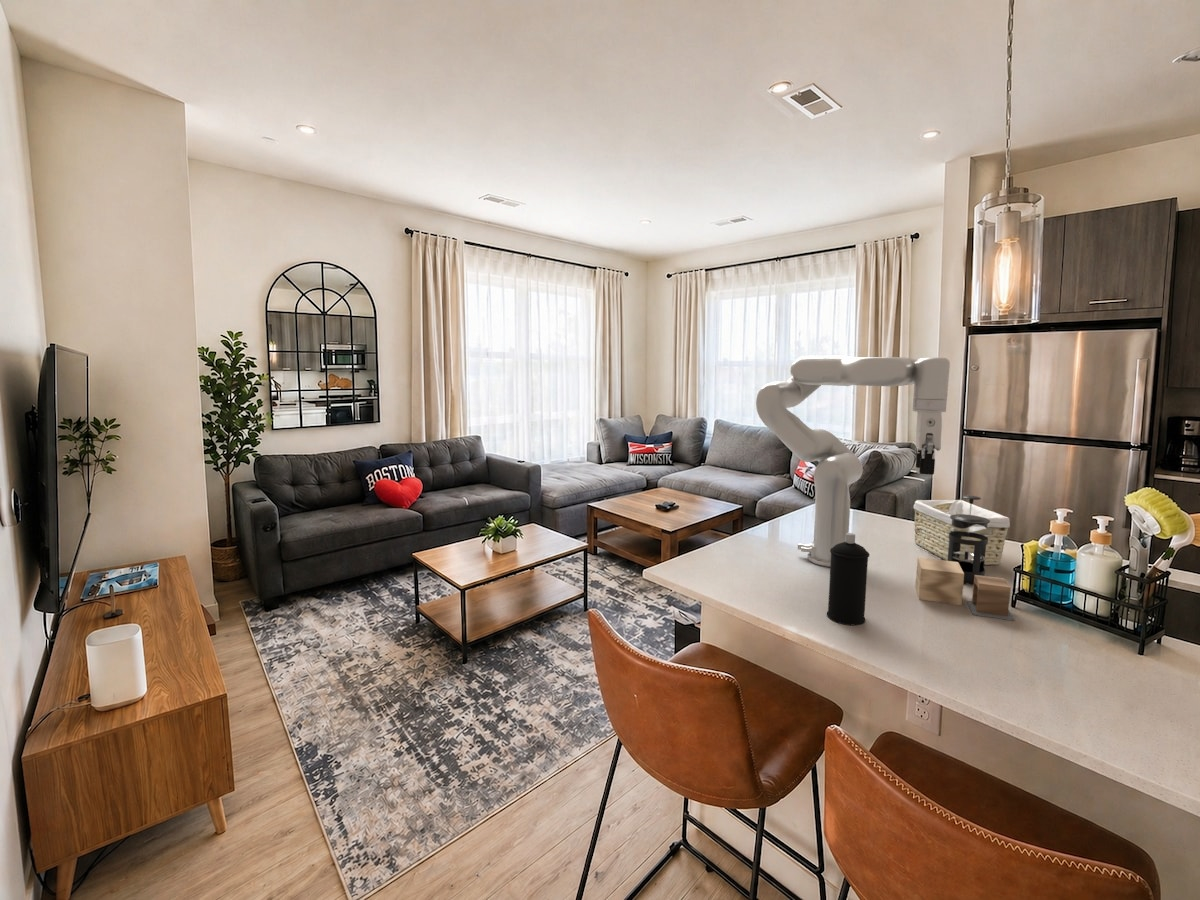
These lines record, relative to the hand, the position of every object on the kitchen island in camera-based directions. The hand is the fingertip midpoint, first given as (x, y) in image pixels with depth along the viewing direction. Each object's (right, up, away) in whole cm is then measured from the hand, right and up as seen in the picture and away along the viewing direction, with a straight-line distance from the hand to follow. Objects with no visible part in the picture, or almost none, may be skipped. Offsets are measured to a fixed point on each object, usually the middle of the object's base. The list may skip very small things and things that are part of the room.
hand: (924, 470), depth 146 cm
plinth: (0, -31, -5) cm, 32 cm away
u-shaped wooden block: (+7, -32, -15) cm, 36 cm away
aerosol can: (-29, -34, -17) cm, 47 cm away
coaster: (+7, -33, -15) cm, 36 cm away
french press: (+14, -30, +7) cm, 34 cm away
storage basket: (+25, -27, +26) cm, 45 cm away
